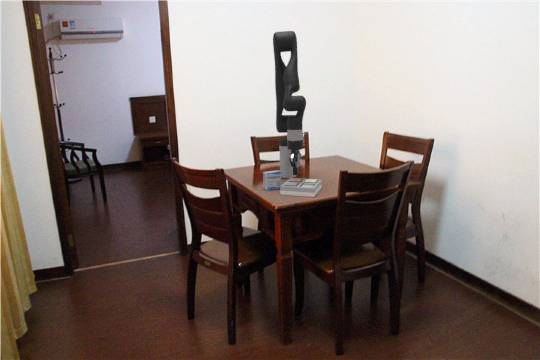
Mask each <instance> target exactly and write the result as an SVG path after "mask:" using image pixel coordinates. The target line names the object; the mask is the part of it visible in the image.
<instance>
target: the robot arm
mask: <svg viewBox="0 0 540 360" xmlns="http://www.w3.org/2000/svg"><path fill="white" fill-rule="evenodd" d="M297 40H298V39H297V35H296V32H295V31H293V30H286V31H285V30H283V31H275V32H274V33H273V36H272V45H273V46H272V47H273V56H274V78H275V79H274V80H275V81H274V85H275V99H276V100H275V101H276V103H275V104H276V110H275V113H276V116H275V126H276V127H275V128H276V131H277V133H279V134H280V133H282V134H285V133H286V137H284V138H281V139H279V140H278V141H279V142H278V144H279V145H278V146H279V148H278V149H279V171H281V179H282V178H283V179H290V178H297V176H298V175H299V166H300V163H301V158H302V153H301V150H303V148H304V133H303V120H304V114H305V110H306V106H307V100H306V98H305V96H304V95H293V94H295V93H299V91H300V90H301V86H300V77H299V71H298V70H299V69H298V68H299V67H298V66H299V65H298V63H299V62H298V57H299V56H298V41H297ZM285 52H286V53H289V52H290V58H289V61H288V62H287V64H285V62H284V60H283V58H282V54H281V53H285ZM284 110H285V111H286V112H296V113H295V114H284V115H283V113H284Z"/></svg>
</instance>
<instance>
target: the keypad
mask: <svg viewBox="0 0 540 360" xmlns="http://www.w3.org/2000/svg"><path fill="white" fill-rule="evenodd" d="M291 179H292V178H287V180H286V181H285V182H283V183H281V186H280V189H279V190H280V191H279V194H280V196H282V195H283V196H293V197H294V196H295V197H310V198H314V197H316V195H317V194H318V193H319V192H320V191H321V189H322V188H323V185H322V184H323V180H322V179H317V183H305V181H306V180H307V179H308V178H301V179H302V182H301V183H299V182H298V185H297V186H296V187H294V186H285V184H286V183H287V182H290V180H291ZM303 184H305V185H314V186H313V187H312V188H310V187H301V186H302V185H303Z"/></svg>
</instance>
